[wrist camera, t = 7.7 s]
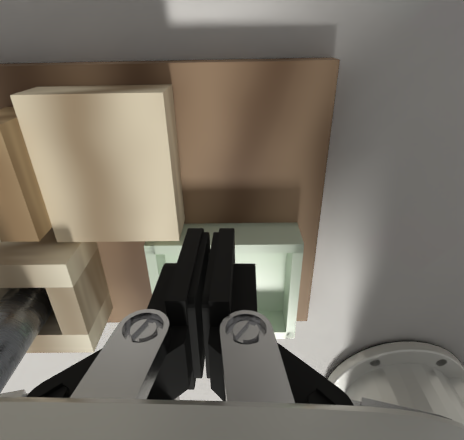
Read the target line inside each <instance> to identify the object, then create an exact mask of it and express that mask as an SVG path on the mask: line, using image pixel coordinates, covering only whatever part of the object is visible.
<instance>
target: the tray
mask: <svg viewBox="0 0 464 440" xmlns="http://www.w3.org/2000/svg"><path fill="white" fill-rule="evenodd" d="M188 228H203V229H204V232H209V234H210V249H211V243H212V238H213V232H219V228H234V229H235V263H243V264H255V266H256V289H257V312H258V313H260V314H262V315H264V316H265V317H266V318H267V319H268V320H269V321H270V323H271V325H272V327H273V331H274V334H275V337H276V339H294V337H295V328H296V318H297V308H298V299H299V289H300V279H301V270H302V260H303V250H304V242H303V239H302V236H301V233H300V230H299V227H298V223H297V222H294V223H205V224H184V225H183V229H182V233H181V237H180V241H146V242H145V244H144V251H145V256H146V262H147V268H148V274H149V279H150V285H151V291H152V294H153V291H154V289H155V286H156V283H157V281H158V278H159V275H160V273H161V270H162V267H163V265H164V264H165V263H177V261H178V258H179V255H180V251H181V248H182V245H183V242H184V239H185V236H186V233H187V229H188Z"/></svg>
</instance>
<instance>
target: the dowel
mask: <svg viewBox="0 0 464 440" xmlns="http://www.w3.org/2000/svg"><path fill="white" fill-rule="evenodd" d="M52 311H53V308H52V305H51V302H50V300H49V297H48V294H47V292H46V289H45V288H10V289H9V290H8V291H7V293H6V294H5V295H4V296H3V297H2V298H1V300H0V393H1V391H2V389H3V388H4V386H5V385H6V383H7V382H8V380H9V379H10V377H11V375H12V374H13V372H14V371H15V369H16V368H17V366H18V364H19V363H20V361H21V360H22V358H23V357H24V355H25V354H26V352H27V350H28V349H29V347H30V346H31V344H32V343H33V341H34V340H35V338H36V336H37V335H38V333H39V332H40V330H41V329H42V327H43V325H44V324H45V322H46V321H47V319H48V318H49V316H50V315H51V313H52Z"/></svg>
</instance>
